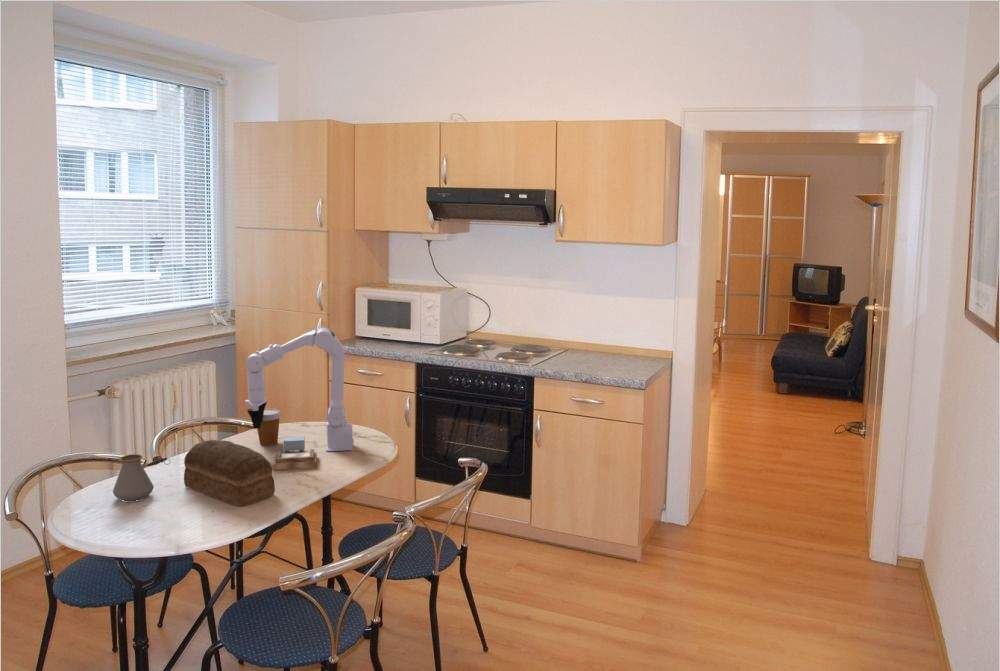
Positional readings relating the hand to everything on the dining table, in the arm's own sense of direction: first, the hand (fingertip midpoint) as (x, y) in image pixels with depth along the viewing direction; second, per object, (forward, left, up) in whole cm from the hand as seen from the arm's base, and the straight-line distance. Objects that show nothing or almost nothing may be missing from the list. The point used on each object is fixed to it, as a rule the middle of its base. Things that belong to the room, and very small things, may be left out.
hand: (258, 425), depth 304 cm
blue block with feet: (-12, +3, -10) cm, 16 cm away
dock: (-13, +15, -10) cm, 22 cm away
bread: (+6, +38, -10) cm, 40 cm away
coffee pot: (+30, +42, -10) cm, 52 cm away
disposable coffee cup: (-2, -10, -10) cm, 15 cm away
